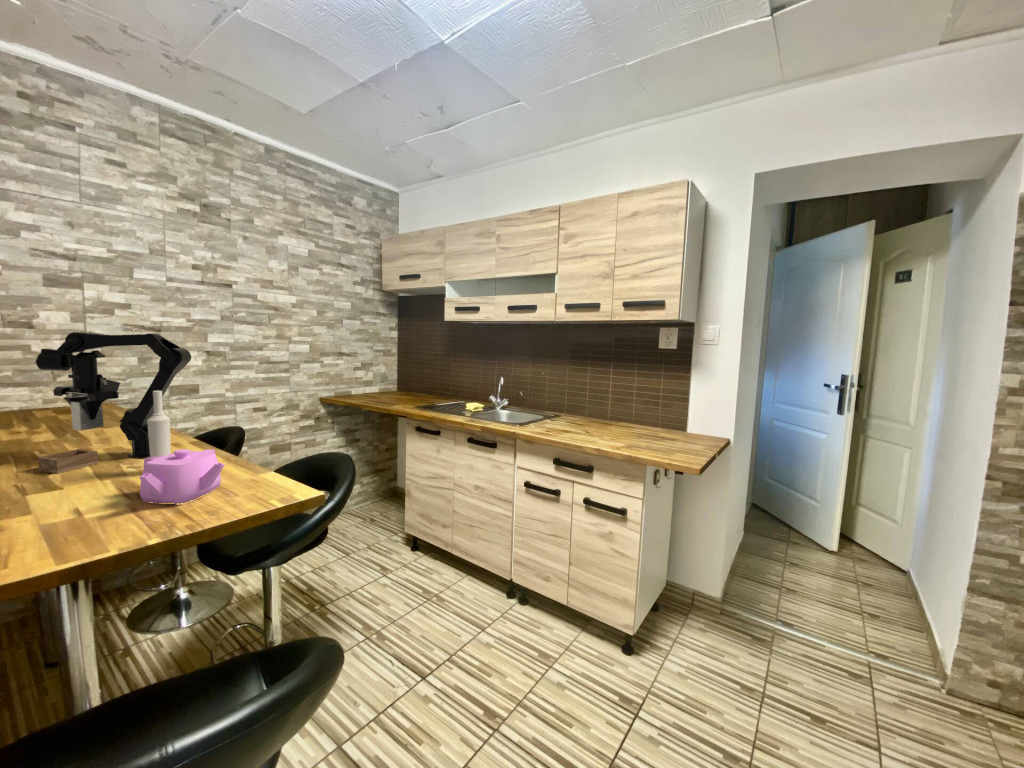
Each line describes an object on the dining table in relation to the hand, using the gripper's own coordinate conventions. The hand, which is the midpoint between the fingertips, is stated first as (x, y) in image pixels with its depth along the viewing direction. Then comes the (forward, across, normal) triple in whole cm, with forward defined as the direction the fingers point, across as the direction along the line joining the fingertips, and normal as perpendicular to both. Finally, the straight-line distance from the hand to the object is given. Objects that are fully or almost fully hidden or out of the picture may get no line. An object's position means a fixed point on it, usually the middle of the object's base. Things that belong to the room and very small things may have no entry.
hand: (88, 418), depth 131 cm
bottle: (+13, -33, +3) cm, 36 cm away
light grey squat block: (+3, 0, 0) cm, 3 cm away
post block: (+13, -6, +9) cm, 17 cm away
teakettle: (+13, -55, +14) cm, 58 cm away
